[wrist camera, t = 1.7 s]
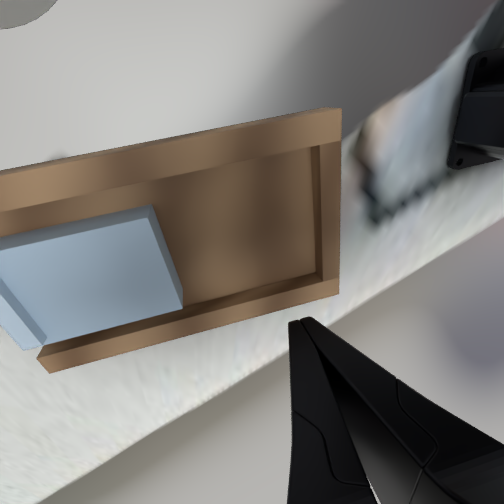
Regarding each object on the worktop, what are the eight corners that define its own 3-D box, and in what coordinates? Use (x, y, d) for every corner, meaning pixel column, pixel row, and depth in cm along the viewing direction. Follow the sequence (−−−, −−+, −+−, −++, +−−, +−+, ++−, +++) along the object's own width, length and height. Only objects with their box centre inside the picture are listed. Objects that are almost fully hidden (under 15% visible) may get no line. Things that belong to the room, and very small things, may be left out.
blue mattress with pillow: (151, 203, 15) (146, 222, 13) (182, 288, 18) (182, 315, 16) (-25, 242, 14) (-65, 269, 12) (40, 325, 17) (18, 359, 15)
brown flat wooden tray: (323, 107, 15) (341, 108, 13) (326, 278, 21) (339, 294, 20) (-67, 183, 13) (-105, 196, 11) (61, 349, 19) (49, 373, 17)
